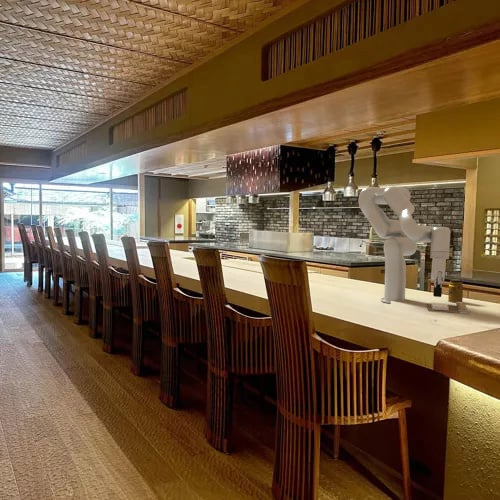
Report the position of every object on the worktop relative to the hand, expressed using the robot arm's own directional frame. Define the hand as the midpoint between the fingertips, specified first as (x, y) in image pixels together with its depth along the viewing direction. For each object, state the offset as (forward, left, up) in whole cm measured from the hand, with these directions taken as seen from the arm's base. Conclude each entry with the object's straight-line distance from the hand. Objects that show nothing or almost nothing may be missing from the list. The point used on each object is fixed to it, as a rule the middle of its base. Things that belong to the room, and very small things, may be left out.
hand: (437, 296), depth 192 cm
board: (+4, +3, -6) cm, 8 cm away
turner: (+4, +9, -5) cm, 11 cm away
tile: (+2, 0, -4) cm, 4 cm away
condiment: (-16, +10, -6) cm, 20 cm away
